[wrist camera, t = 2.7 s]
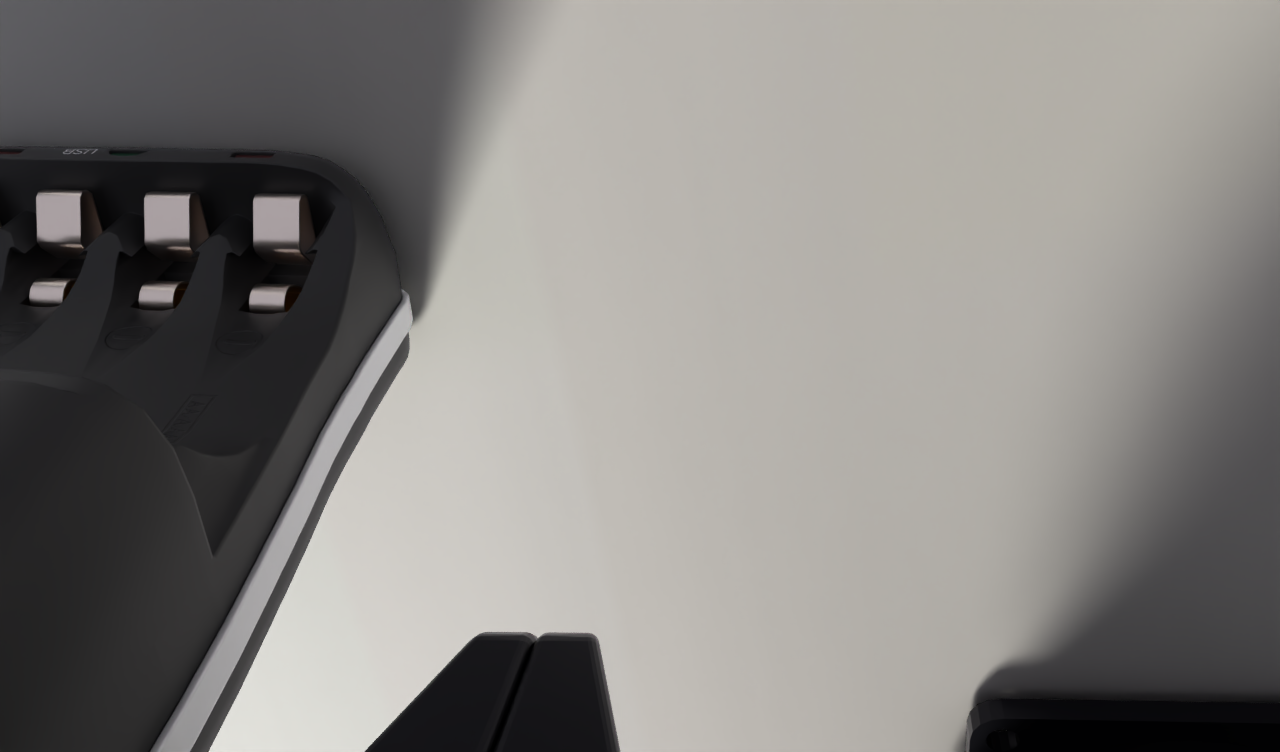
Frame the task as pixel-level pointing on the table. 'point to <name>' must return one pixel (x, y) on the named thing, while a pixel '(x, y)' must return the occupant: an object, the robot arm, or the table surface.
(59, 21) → the table surface
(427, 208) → the table surface
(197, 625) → the battery charger
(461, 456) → the table surface
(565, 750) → the robot arm
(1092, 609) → the table surface
